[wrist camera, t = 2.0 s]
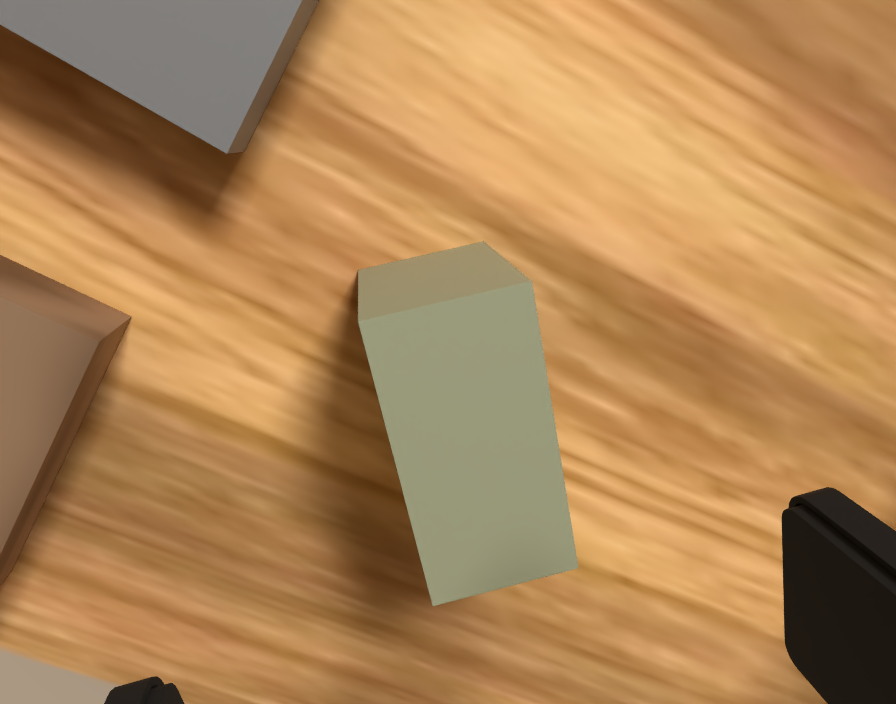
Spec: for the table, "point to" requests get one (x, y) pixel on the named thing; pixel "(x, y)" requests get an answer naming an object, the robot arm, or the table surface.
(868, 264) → the table surface
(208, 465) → the table surface
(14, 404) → the walnut block
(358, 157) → the table surface
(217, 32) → the charcoal block
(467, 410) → the olive brick
